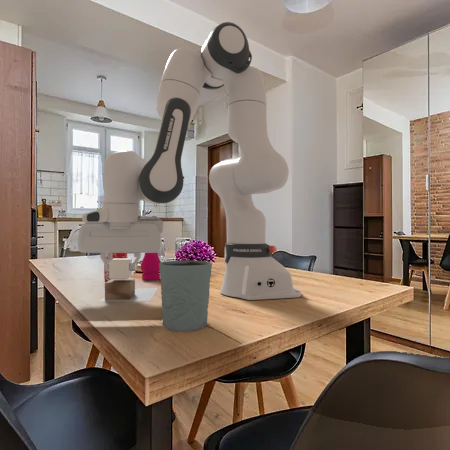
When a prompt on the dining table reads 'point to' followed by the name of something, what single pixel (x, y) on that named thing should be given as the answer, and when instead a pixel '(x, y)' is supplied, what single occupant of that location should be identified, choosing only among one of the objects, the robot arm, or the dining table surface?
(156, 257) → the pepper mill
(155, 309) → the dining table surface
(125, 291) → the walnut base
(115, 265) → the cream cube
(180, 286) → the green plant pot
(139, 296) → the board
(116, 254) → the soda can
